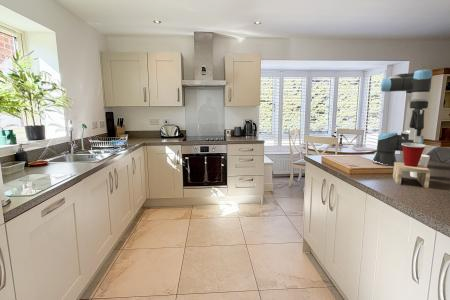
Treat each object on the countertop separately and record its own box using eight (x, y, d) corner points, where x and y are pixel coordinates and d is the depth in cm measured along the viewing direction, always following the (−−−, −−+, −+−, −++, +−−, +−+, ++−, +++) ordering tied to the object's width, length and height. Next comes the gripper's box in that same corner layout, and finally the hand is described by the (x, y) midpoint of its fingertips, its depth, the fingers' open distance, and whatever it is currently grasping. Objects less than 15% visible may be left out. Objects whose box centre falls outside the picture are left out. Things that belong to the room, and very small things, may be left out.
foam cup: (426, 179, 141) (430, 157, 139) (406, 176, 146) (409, 155, 144) (426, 176, 148) (429, 155, 146) (407, 173, 154) (409, 153, 152)
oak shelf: (392, 176, 146) (394, 161, 145) (419, 179, 140) (421, 164, 139) (397, 184, 130) (399, 167, 129) (428, 187, 125) (430, 170, 123)
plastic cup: (401, 166, 132) (403, 144, 130) (396, 162, 142) (399, 142, 140) (426, 168, 128) (429, 145, 126) (420, 164, 137) (423, 143, 135)
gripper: (406, 101, 142) (401, 138, 145) (415, 99, 120) (410, 143, 123) (422, 101, 138) (417, 139, 141) (435, 99, 116) (429, 144, 120)
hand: (414, 141), depth 132 cm, fingers open, 13 cm apart
